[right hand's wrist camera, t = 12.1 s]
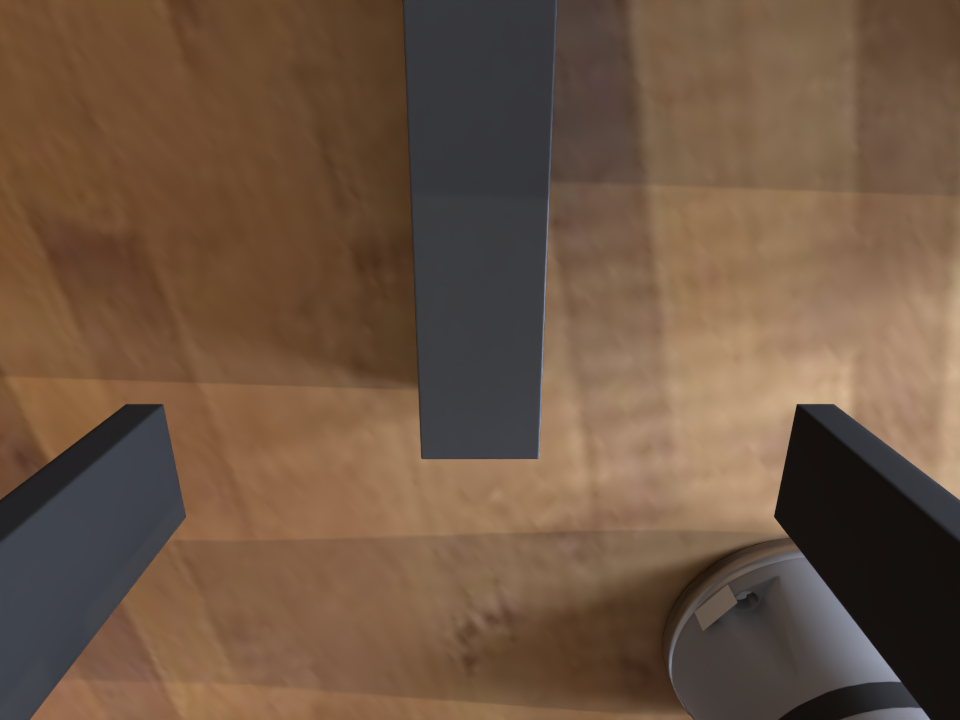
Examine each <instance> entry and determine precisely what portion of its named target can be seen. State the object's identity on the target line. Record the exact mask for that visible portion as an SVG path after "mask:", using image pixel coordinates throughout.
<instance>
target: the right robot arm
mask: <svg viewBox="0 0 960 720" xmlns="http://www.w3.org/2000/svg"><path fill="white" fill-rule="evenodd" d="M185 517H186V515H185V510H184V505H183V500H182V495H181V490H180V485H179V480H178V475H177V470H176V465H175V460H174V456H173V451H172V446H171V441H170V436H169V431H168V426H167V421H166V416H165V411H164V406H163V404H126V405H125V406H123V407H122V408H121V409H119V410H118V411H117V412H115V413H114V414H113V415H111V416H110V417H109V418H107V419H106V420H105V421H104V422H102V423H101V424H100V425H98V426H97V427H96V428H94V429H93V430H92V431H90V432H89V433H88V434H86V435H85V436H84V437H83V438H81V439H80V440H79V441H77V442H76V443H75V444H73V445H72V446H71V447H69V448H68V449H67V450H65V451H64V452H63V453H62V454H60V455H59V456H58V457H56V458H55V459H54V460H52V461H51V462H50V463H48V464H47V465H46V466H44V467H43V468H42V469H41V470H39V471H38V472H37V473H35V474H34V475H33V476H31V477H30V478H29V479H27V480H26V481H25V482H23V483H22V484H21V485H20V486H18V487H17V488H16V489H14V490H13V491H12V492H10V493H9V494H8V495H6V496H5V497H4V498H2V499H1V500H0V720H30V719H31V717H32V716H33V715H34V714H35V712H36V711H37V710H38V708H39V707H40V706H41V704H42V703H43V702H44V701H45V699H46V698H47V697H48V695H49V694H50V693H51V691H52V690H53V689H54V688H55V686H56V685H57V684H58V682H59V681H60V680H61V678H62V677H63V676H64V675H65V673H66V672H67V671H68V669H69V668H70V667H71V665H72V664H73V663H74V662H75V660H76V659H77V658H78V656H79V655H80V654H81V652H82V651H83V650H84V649H85V647H86V646H87V645H88V643H89V642H90V641H91V639H92V638H93V637H94V636H95V634H96V633H97V632H98V630H99V629H100V628H101V626H102V625H103V624H104V623H105V621H106V620H107V619H108V617H109V616H110V615H111V614H112V612H113V611H114V610H115V608H116V607H117V606H118V604H119V603H120V602H121V601H122V599H123V598H124V597H125V595H126V594H127V593H128V591H129V590H130V589H131V588H132V586H133V585H134V584H135V582H136V581H137V580H138V578H139V577H140V576H141V575H142V573H143V572H144V571H145V569H146V568H147V567H148V565H149V564H150V563H151V562H152V560H153V559H154V558H155V556H156V555H157V554H158V552H159V551H160V550H161V549H162V547H163V546H164V545H165V543H166V542H167V541H168V539H169V538H170V537H171V536H172V534H173V533H174V532H175V530H176V529H177V528H178V526H179V525H180V524H181V523H182V521H183V520H184V519H185ZM774 517H775V519H776V520H777V521H778V523H779V524H780V525H781V526H782V528H783V529H784V530H785V532H786V533H787V534H788V536H789V537H790V538H785V539H778V540H773V541H768V542H764V543H760V544H757V545H754V546H751V547H748V548H745V549H743V550H740V551H738V552H736V553H734V554H731V555H730V556H728V557H726V558H724V559H722V560H720V561H719V562H717V563H716V564H714V565H713V566H711V567H710V568H708V569H707V570H706V571H704V572H703V573H702V574H701V575H699V576H698V577H697V578H696V579H695V580H694V581H693V582H692V583H691V584H690V585H689V586H688V587H687V588H686V589H685V591H684V592H683V593H682V595H681V596H680V597H679V598H678V600H677V602H676V603H675V605H674V607H673V608H672V610H671V612H670V615H669V617H668V619H667V622H666V625H665V629H664V634H663V644H662V645H663V657H664V662H665V665H666V668H667V671H668V674H669V677H670V680H671V683H672V685H673V688H674V691H675V693H676V696H677V698H678V700H679V701H680V703H681V704H682V706H683V707H684V708H685V710H686V711H687V712H688V714H689V715H690V716H691V717H692V718H693V719H694V720H960V500H959V499H958V498H956V497H955V496H954V495H952V494H951V493H950V492H948V491H947V490H946V489H944V488H943V487H942V486H940V485H939V484H938V483H937V482H935V481H934V480H933V479H931V478H930V477H929V476H927V475H926V474H925V473H923V472H922V471H921V470H919V469H918V468H917V467H916V466H914V465H913V464H912V463H910V462H909V461H908V460H906V459H905V458H904V457H902V456H901V455H900V454H898V453H897V452H896V451H895V450H893V449H892V448H891V447H889V446H888V445H887V444H885V443H884V442H883V441H881V440H880V439H879V438H877V437H876V436H875V435H874V434H872V433H871V432H870V431H868V430H867V429H866V428H864V427H863V426H862V425H860V424H859V423H858V422H856V421H855V420H854V419H853V418H851V417H850V416H849V415H847V414H846V413H845V412H843V411H842V410H841V409H839V408H838V407H837V406H835V405H834V404H797V406H796V411H795V416H794V421H793V426H792V431H791V436H790V441H789V446H788V451H787V456H786V460H785V465H784V470H783V475H782V480H781V485H780V490H779V495H778V500H777V505H776V510H775V515H774Z"/></svg>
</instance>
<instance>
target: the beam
mask: <svg viewBox="0 0 960 720" xmlns="http://www.w3.org/2000/svg"><path fill="white" fill-rule="evenodd" d="M556 20H557V0H403V22H404V47H405V71H406V96H407V120H408V145H409V169H410V194H411V218H412V243H413V268H414V292H415V317H416V341H417V366H418V390H419V415H420V440H421V458H422V459H538V458H539V449H540V424H541V398H542V373H543V348H544V323H545V298H546V272H547V247H548V222H549V197H550V171H551V146H552V121H553V96H554V70H555V45H556Z"/></svg>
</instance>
